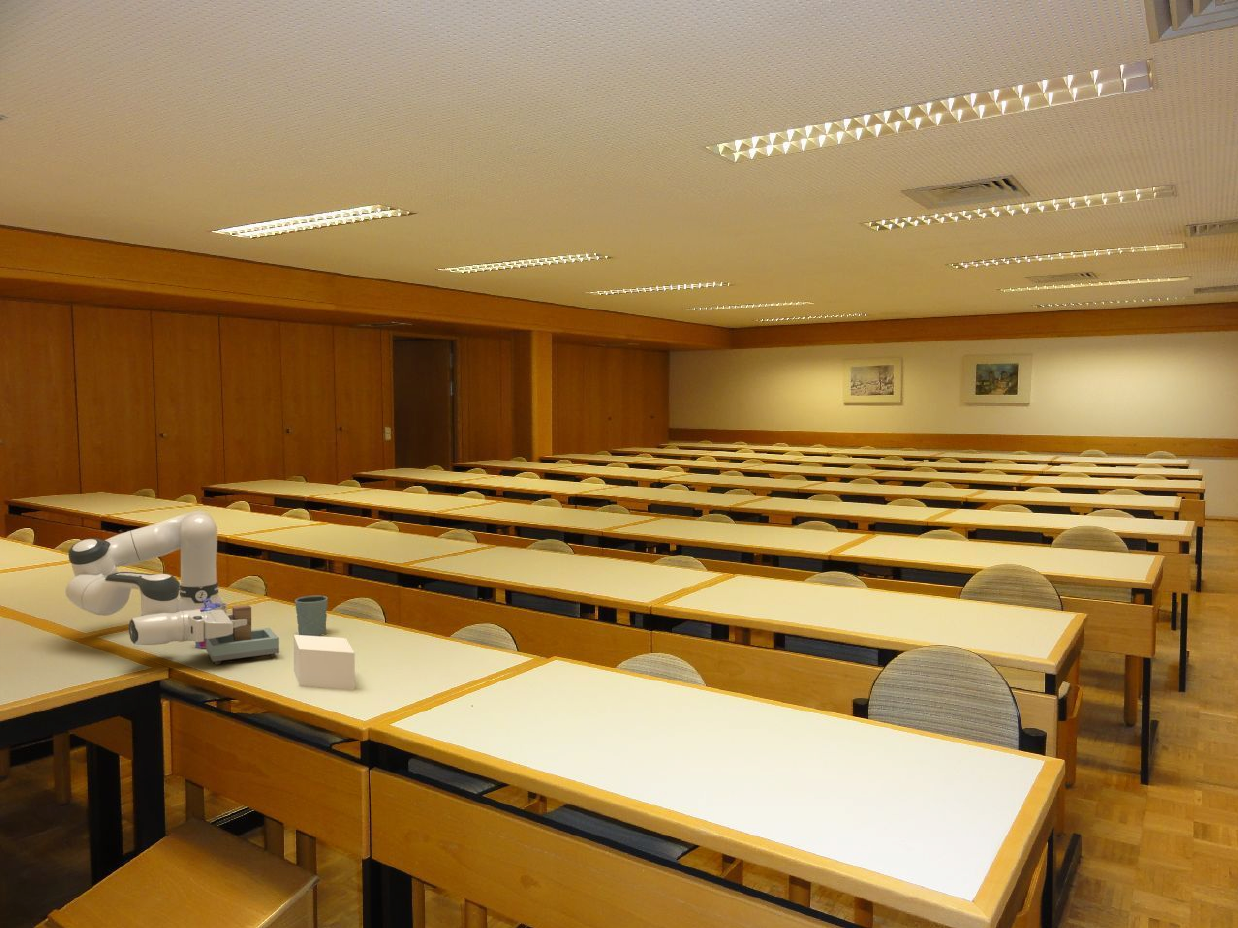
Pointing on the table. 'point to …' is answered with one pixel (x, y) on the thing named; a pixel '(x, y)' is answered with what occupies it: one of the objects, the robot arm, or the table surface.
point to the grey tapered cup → (311, 615)
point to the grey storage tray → (243, 646)
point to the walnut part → (245, 630)
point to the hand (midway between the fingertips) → (245, 619)
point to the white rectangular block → (324, 662)
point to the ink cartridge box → (209, 607)
